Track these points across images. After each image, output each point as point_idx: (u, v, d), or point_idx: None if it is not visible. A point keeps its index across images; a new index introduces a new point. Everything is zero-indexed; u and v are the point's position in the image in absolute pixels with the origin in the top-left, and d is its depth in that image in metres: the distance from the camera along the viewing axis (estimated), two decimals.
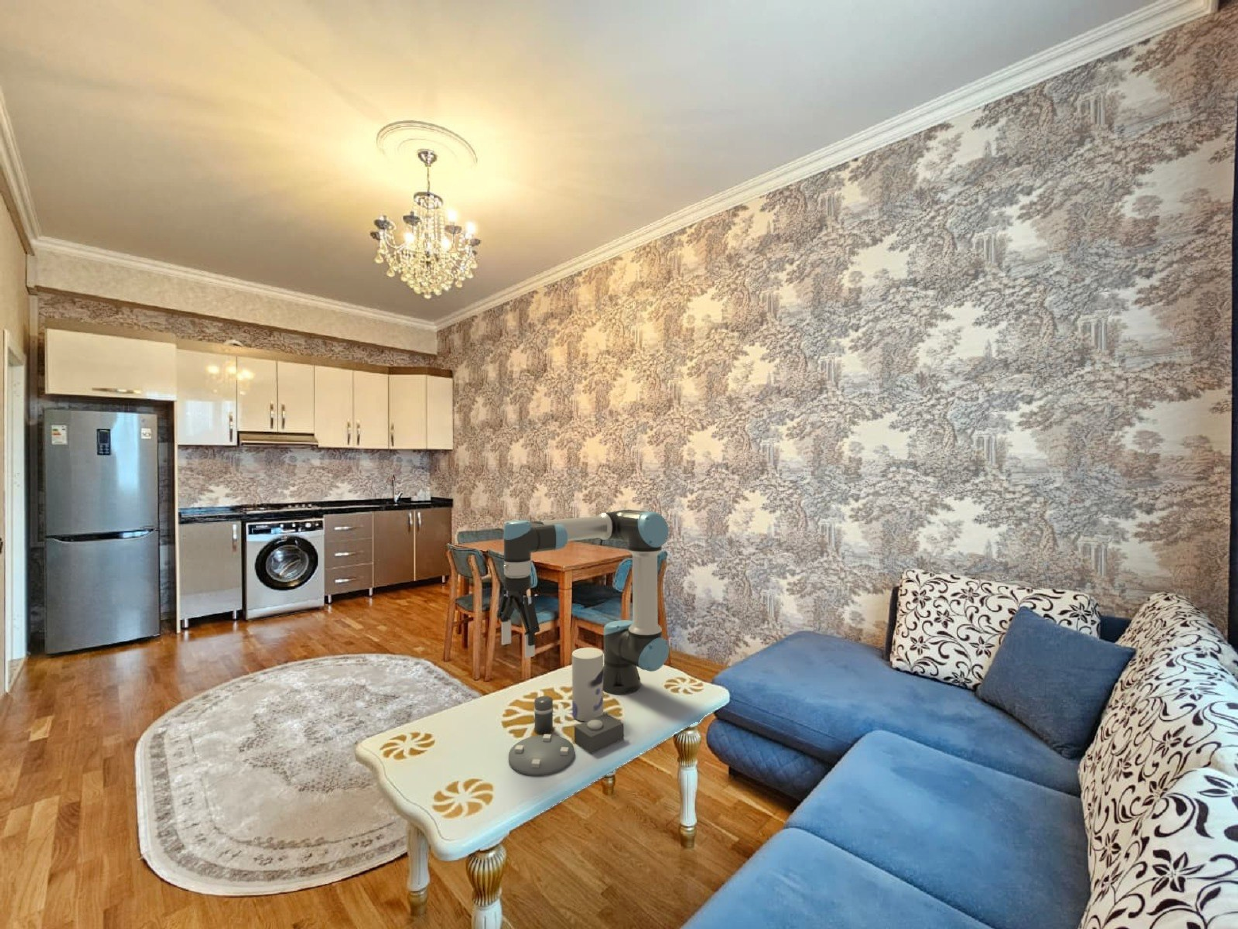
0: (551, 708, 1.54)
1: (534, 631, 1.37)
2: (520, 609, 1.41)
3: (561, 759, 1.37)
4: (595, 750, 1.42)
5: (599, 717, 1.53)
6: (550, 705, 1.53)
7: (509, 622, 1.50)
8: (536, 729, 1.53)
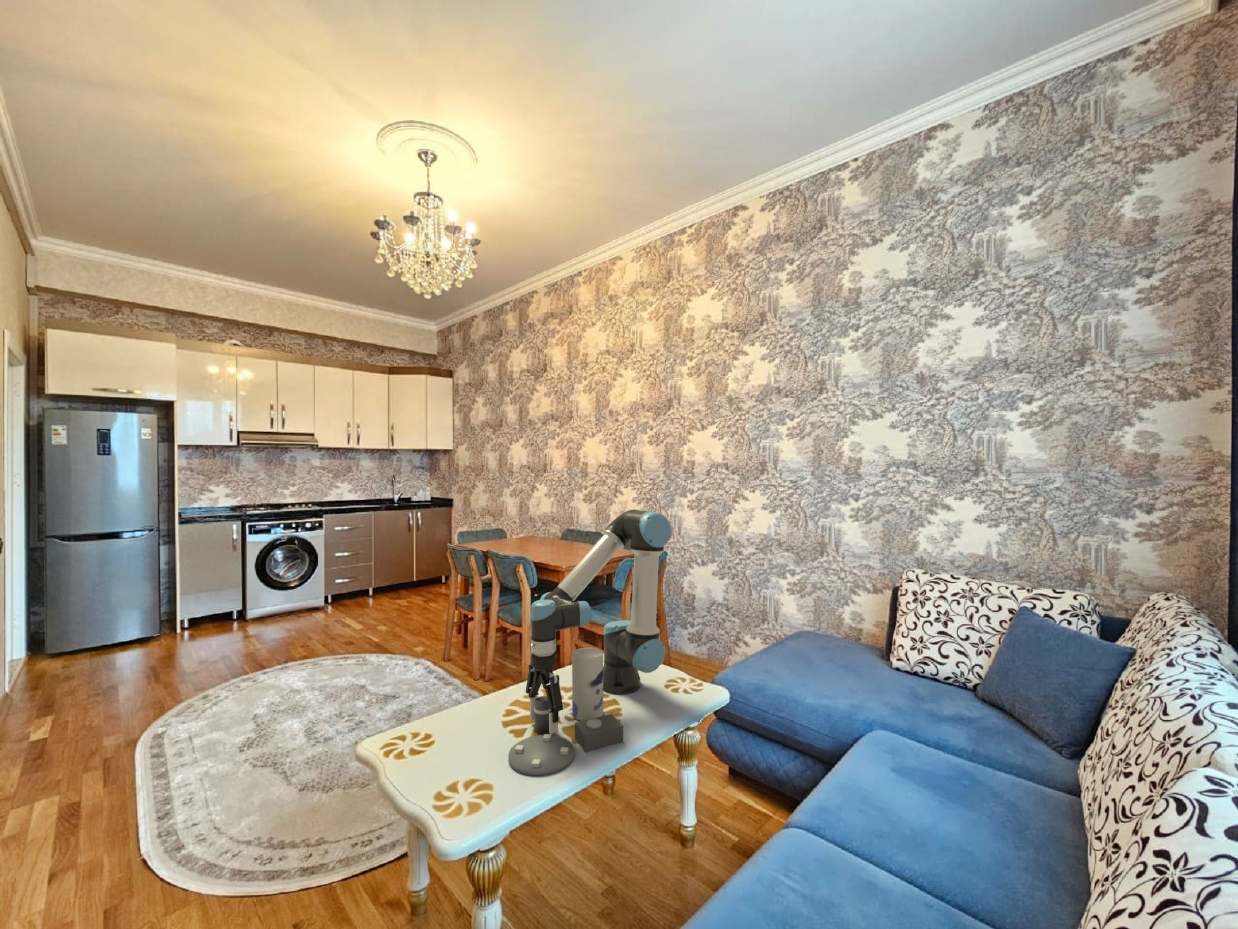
0: None
1: (558, 710, 1.48)
2: (546, 687, 1.51)
3: (561, 759, 1.37)
4: (590, 749, 1.43)
5: (602, 717, 1.53)
6: None
7: None
8: (536, 729, 1.53)
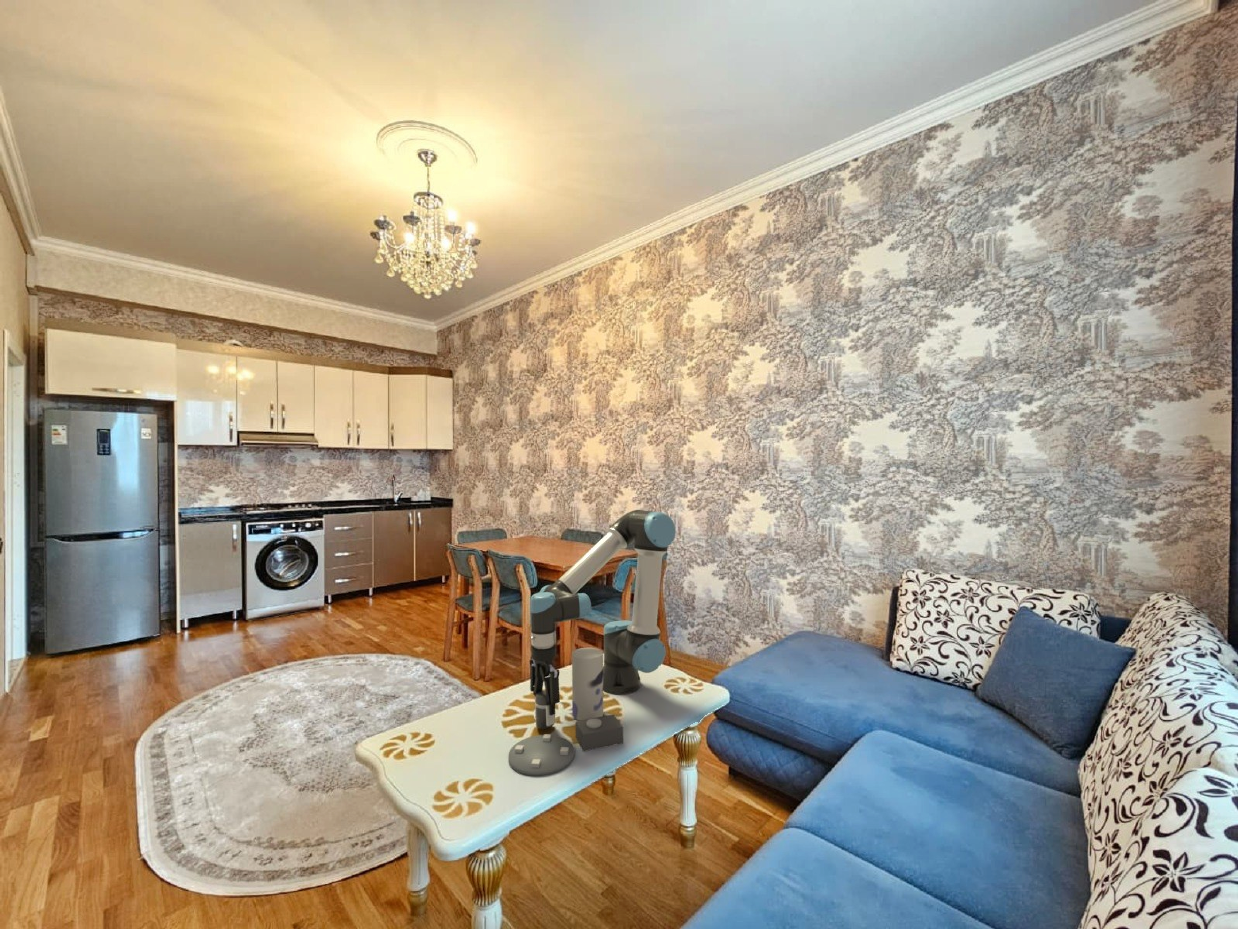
0: None
1: (555, 702, 1.50)
2: (545, 680, 1.52)
3: (561, 759, 1.37)
4: (588, 748, 1.43)
5: (604, 717, 1.53)
6: None
7: None
8: (537, 723, 1.53)
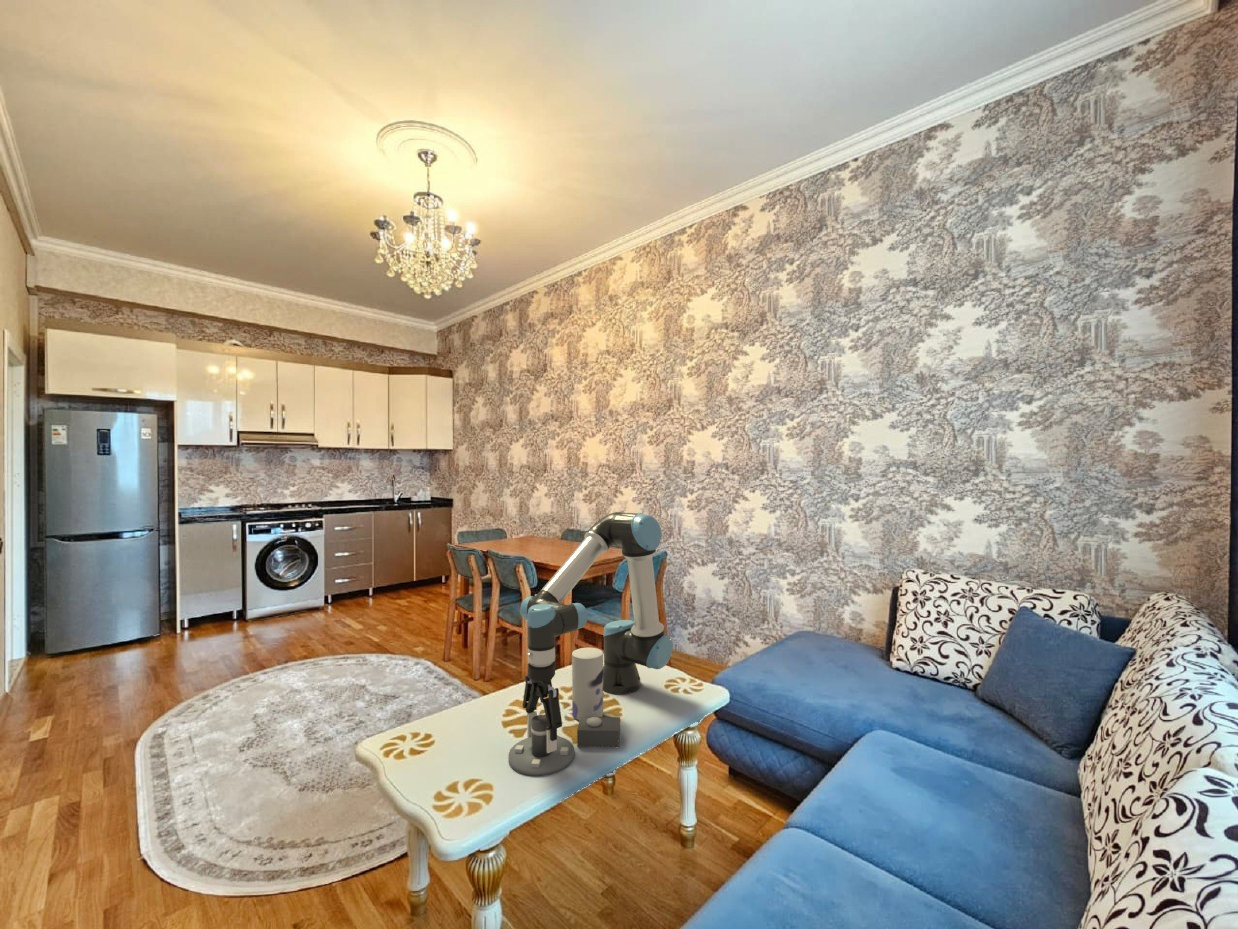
0: None
1: (556, 727, 1.34)
2: (544, 701, 1.37)
3: (561, 759, 1.37)
4: (582, 745, 1.45)
5: (608, 718, 1.52)
6: None
7: (535, 713, 1.45)
8: (533, 752, 1.38)
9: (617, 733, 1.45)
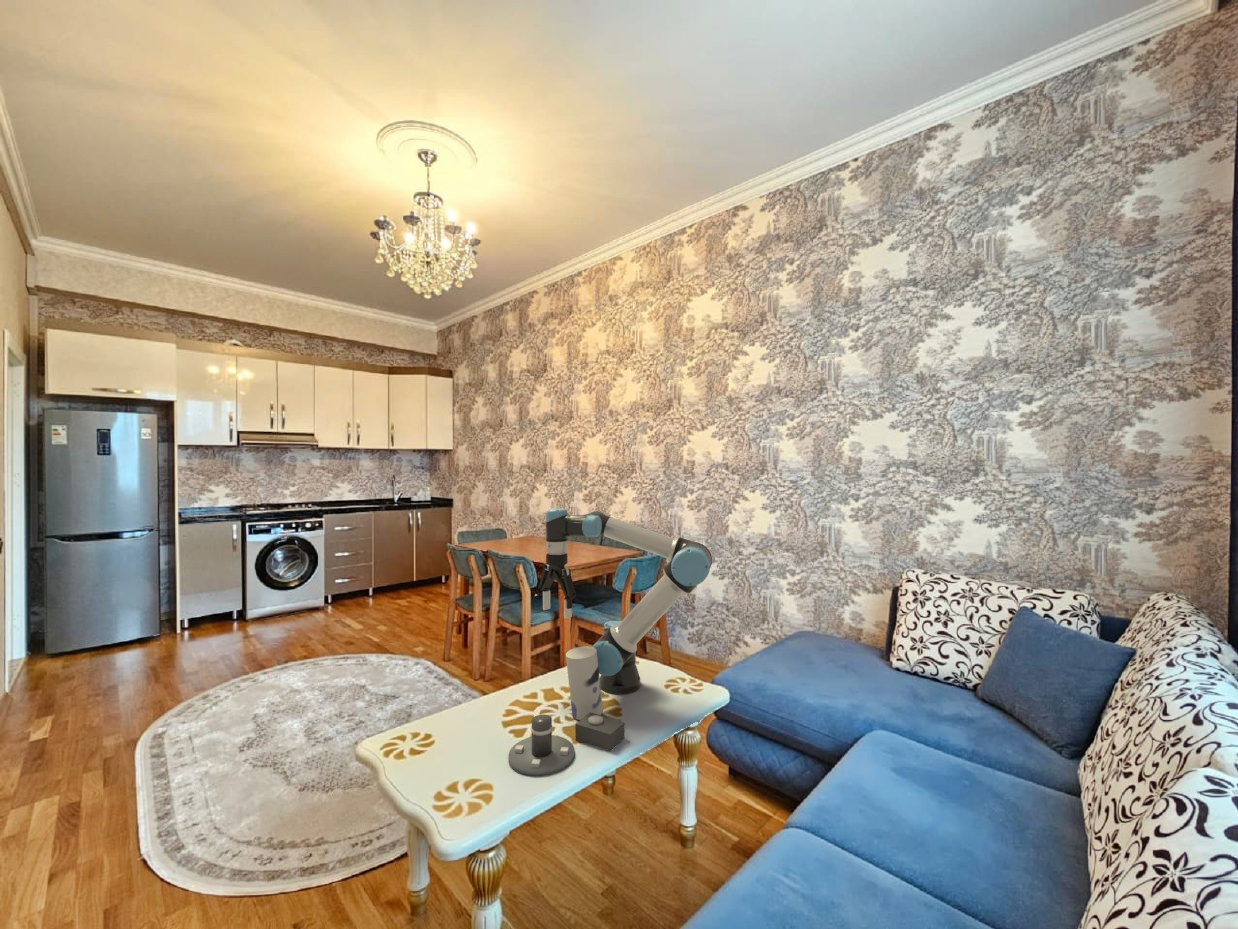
0: (550, 728, 1.39)
1: (572, 596, 1.70)
2: (560, 579, 1.75)
3: (561, 759, 1.37)
4: (580, 740, 1.48)
5: (613, 720, 1.51)
6: (549, 725, 1.39)
7: (549, 592, 1.84)
8: (533, 752, 1.38)
9: (609, 736, 1.43)
